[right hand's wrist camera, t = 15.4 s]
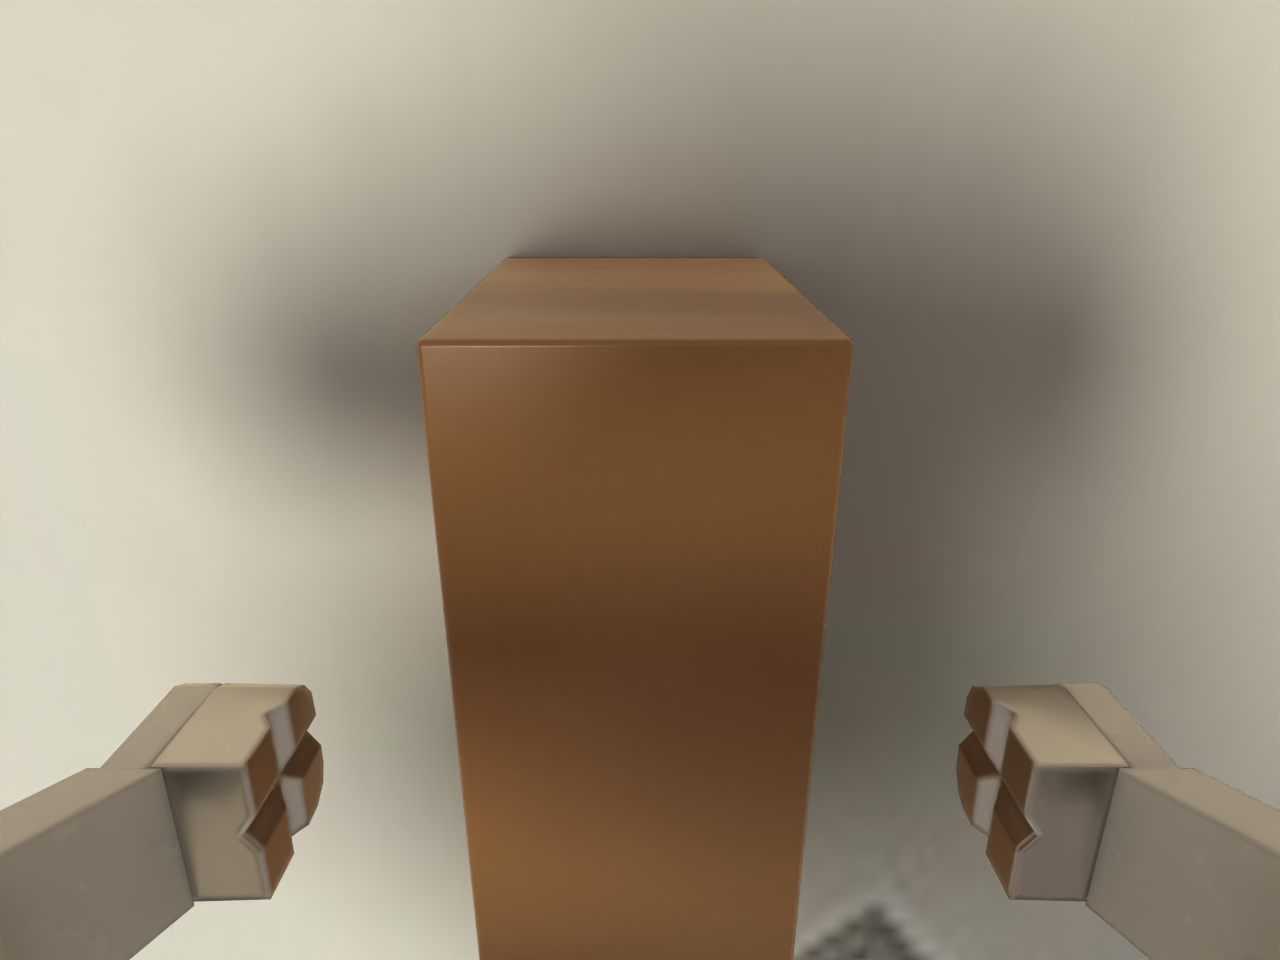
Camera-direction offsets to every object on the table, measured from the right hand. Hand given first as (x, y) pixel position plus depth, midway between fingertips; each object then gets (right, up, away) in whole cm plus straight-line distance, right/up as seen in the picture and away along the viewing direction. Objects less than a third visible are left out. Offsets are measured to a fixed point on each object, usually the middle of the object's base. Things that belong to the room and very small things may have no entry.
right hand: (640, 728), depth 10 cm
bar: (0, -5, +12) cm, 13 cm away
